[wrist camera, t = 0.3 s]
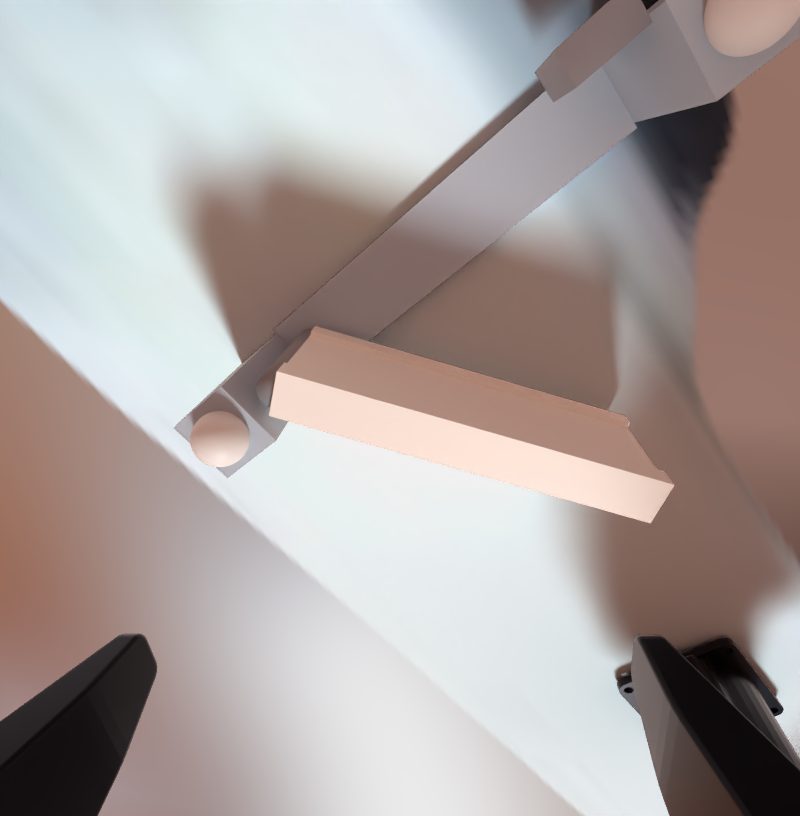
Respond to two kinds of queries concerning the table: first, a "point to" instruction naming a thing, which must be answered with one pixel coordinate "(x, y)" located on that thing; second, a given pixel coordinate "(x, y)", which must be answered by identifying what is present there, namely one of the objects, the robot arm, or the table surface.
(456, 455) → the gate
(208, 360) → the table surface
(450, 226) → the gate frame
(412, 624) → the table surface
